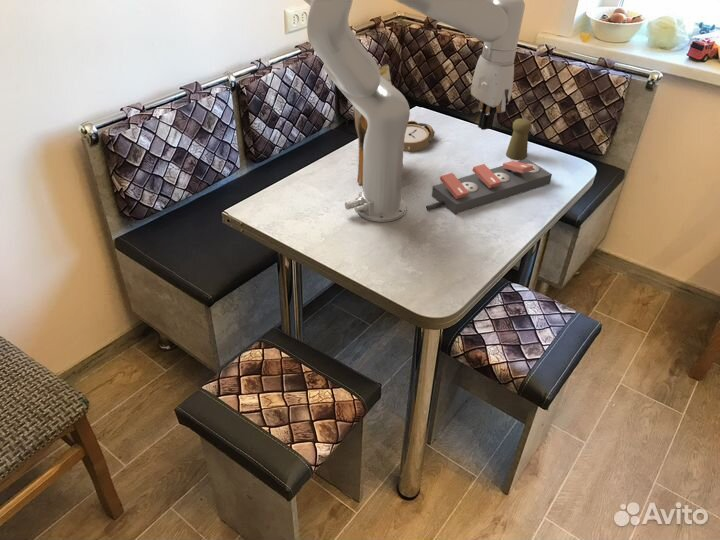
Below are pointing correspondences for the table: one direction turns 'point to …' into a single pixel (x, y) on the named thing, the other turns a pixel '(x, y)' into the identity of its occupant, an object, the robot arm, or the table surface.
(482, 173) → the outlet rocker
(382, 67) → the pancake mix bag
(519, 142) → the cork
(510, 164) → the rocker outlet
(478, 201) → the power strip
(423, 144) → the alarm clock
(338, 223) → the table surface
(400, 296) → the table surface
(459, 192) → the outlet rocker
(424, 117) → the table surface
